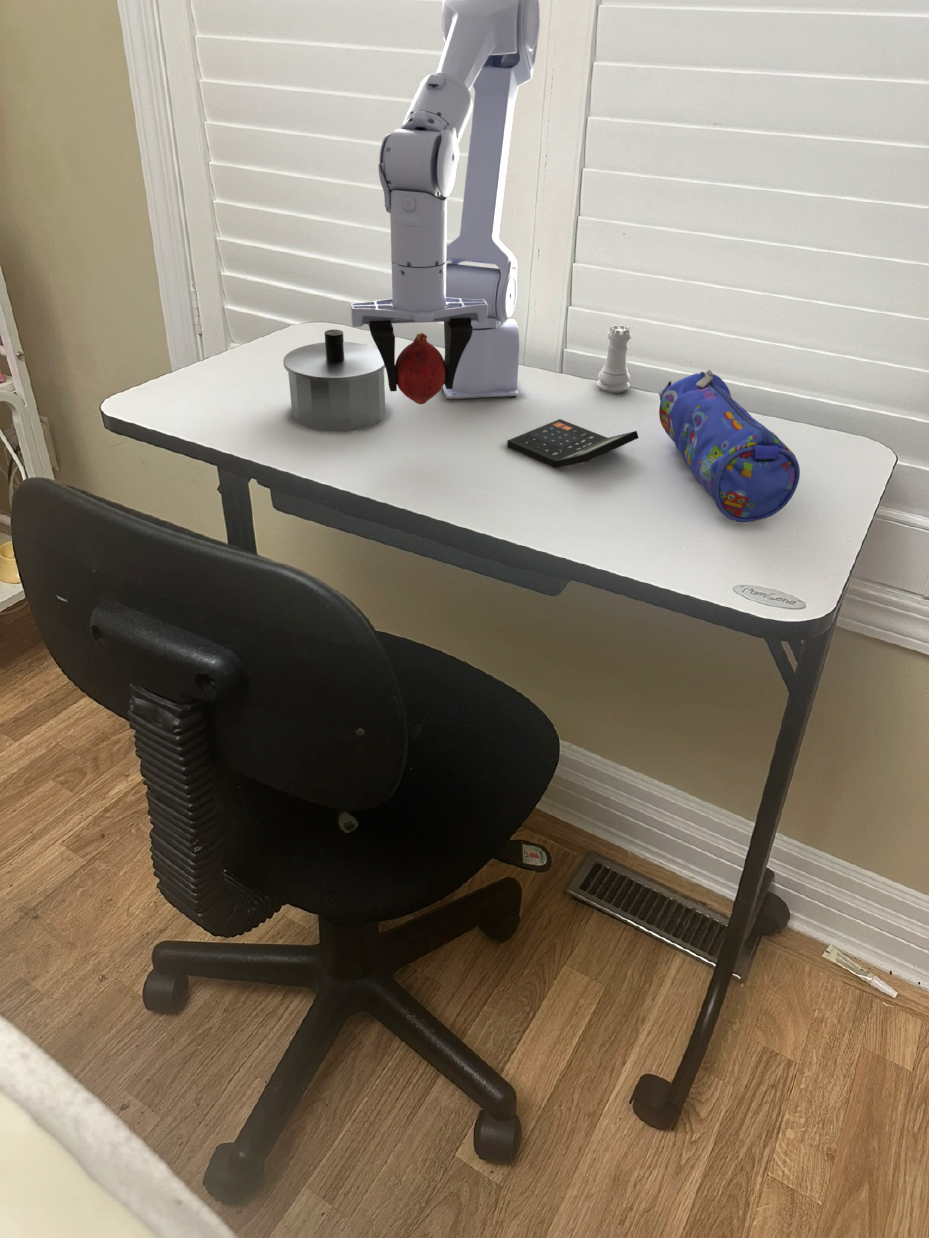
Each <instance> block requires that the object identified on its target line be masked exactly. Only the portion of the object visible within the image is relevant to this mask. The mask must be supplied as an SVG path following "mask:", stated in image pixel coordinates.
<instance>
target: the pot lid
mask: <svg viewBox="0 0 929 1238" xmlns="http://www.w3.org/2000/svg"><path fill="white" fill-rule="evenodd" d="M282 362H283V368H284V369H285V370H286V371H287V372H289V373H291V374H293V375H295V376H298V377H301V378H305V379H309V380H316V381H331V382H332V381H350V380H356V379H361V378H366V377H369V376H372V375H375V374H377V373H379V372H380V371H382V370H383V369H384V370H385V369H386V367H385V364H384V362H383V359H382V357H381V354H380V352H379V350H378V348H377V347H375V346H372V345H368V344H365V343H358V342H349V341H345V337H344V331H343V330H340V329H335V328H334V329H328V330H325V331H324V342H317V343H311V344H307V345H303V346H300V347H297V348H295V349H293V350H291V351H289V352H288V353H286V354H285V356H284V357H283V360H282Z"/></svg>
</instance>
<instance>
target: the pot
mask: <svg viewBox="0 0 929 1238" xmlns="http://www.w3.org/2000/svg"><path fill="white" fill-rule="evenodd" d="M287 372H288V371H287ZM288 383H289V392H290V395H289V396H290V404H291V405H290V406H291V415H292V418H293V420H294V421H295V422H296V423H297V424H298V425H300V426H303V427H305V428H306V429H307V428H308V429H310V430H314V431H321V432H333V433H339V432H341V433H342V432H351V431H357V430H362V429H366V428H370V427H371V426H373V425H376V424H378V423H379V422H380V421H382V419H383V418H384V416H385V414H386V392H385V368H384V369H383V370H382V371H380V372H379V373H377V374H375V375H372V376H369V377H366V378H361V379H356V380H350V381H332V382H331V381H316V380H309V379H305V378H301V377H298V376H295V375H293V374H291V373H289V372H288Z"/></svg>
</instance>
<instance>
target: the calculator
mask: <svg viewBox="0 0 929 1238" xmlns="http://www.w3.org/2000/svg"><path fill="white" fill-rule="evenodd" d="M637 439H639V434H638V431H637V430H634V431H630V432H626V433H622V434H618V435H614V436H610V437H607V436H604V435H602V434H599V433H596V432H595V431H592V430H589V429H587V428H584V427H581V426H579V425H576V424H574V423H572V422H569V421H566V420H564V419H561V418H559V419H557V420H554V421H551V422H549V423H546V424H544V425H542V426H539V427H537V428H534V429H532V430H529V431H526V432H525V433H521V434H520V435H517V436H515V437H511V438H510V439H507V441H506V448H508V449H510V450H512V451H514V452H517V453H518V454H519V453H520V454H522V455H524V456H526V457H528V458H531V459H533V460H535V461H537V462H540V463H542V464H545V465H547V466H549V467H551V468H554V469H559V468H563V467H570V466H574V465H580V464H584V463H588V462H590V461H592V460H594V459H597V458H599V457H601V456H603V455H605V454H608V453H610V452H612V451H613V450H616V449H618V448H621V447H622V446H625V445H627V444H629V443H631V442H633V441H635V440H637Z"/></svg>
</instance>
